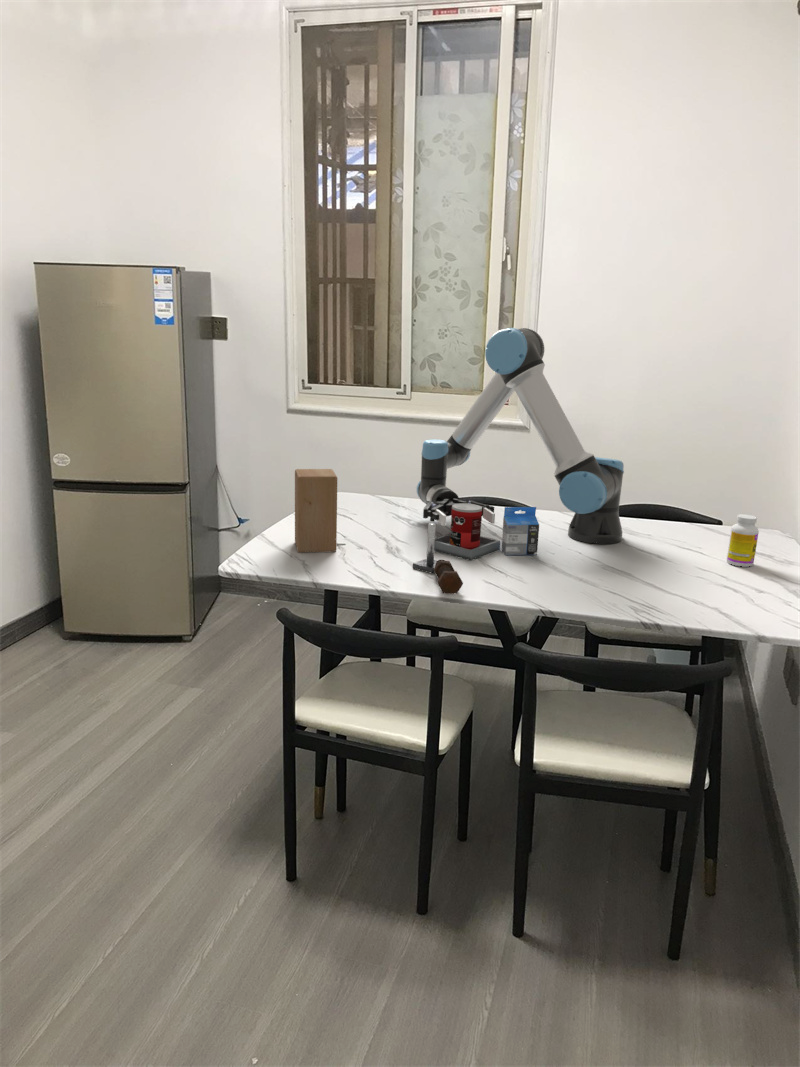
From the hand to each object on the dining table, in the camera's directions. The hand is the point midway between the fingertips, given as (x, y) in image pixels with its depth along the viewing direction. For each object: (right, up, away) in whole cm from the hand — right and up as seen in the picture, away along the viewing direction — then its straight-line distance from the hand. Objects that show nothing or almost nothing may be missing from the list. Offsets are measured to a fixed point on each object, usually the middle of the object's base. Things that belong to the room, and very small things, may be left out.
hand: (469, 519), depth 206 cm
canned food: (-1, -7, +4) cm, 9 cm away
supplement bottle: (+71, -12, +1) cm, 72 cm away
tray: (-1, -8, +5) cm, 9 cm away
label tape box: (+13, -9, +3) cm, 16 cm away
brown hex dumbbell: (-7, -16, -21) cm, 27 cm away
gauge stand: (-11, -12, -11) cm, 20 cm away
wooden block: (-40, -7, +2) cm, 41 cm away
